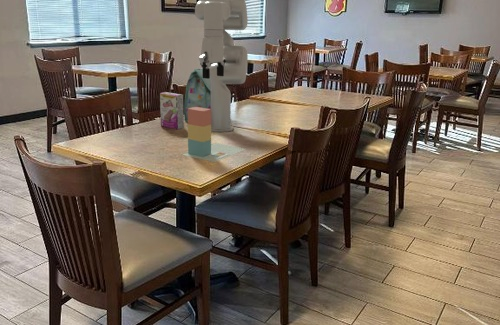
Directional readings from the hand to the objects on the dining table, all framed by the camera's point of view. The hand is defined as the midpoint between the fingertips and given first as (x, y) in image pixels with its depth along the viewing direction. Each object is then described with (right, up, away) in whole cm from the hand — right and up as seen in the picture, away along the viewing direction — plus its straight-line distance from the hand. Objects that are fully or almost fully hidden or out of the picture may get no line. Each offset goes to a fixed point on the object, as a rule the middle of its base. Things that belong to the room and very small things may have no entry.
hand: (213, 77), depth 190 cm
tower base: (-5, -32, -8) cm, 33 cm away
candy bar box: (-23, -18, +34) cm, 45 cm away
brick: (-4, -20, -12) cm, 24 cm away
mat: (+1, -31, -5) cm, 32 cm away
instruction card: (+3, -32, -9) cm, 34 cm away
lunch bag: (-9, -12, +54) cm, 56 cm away
